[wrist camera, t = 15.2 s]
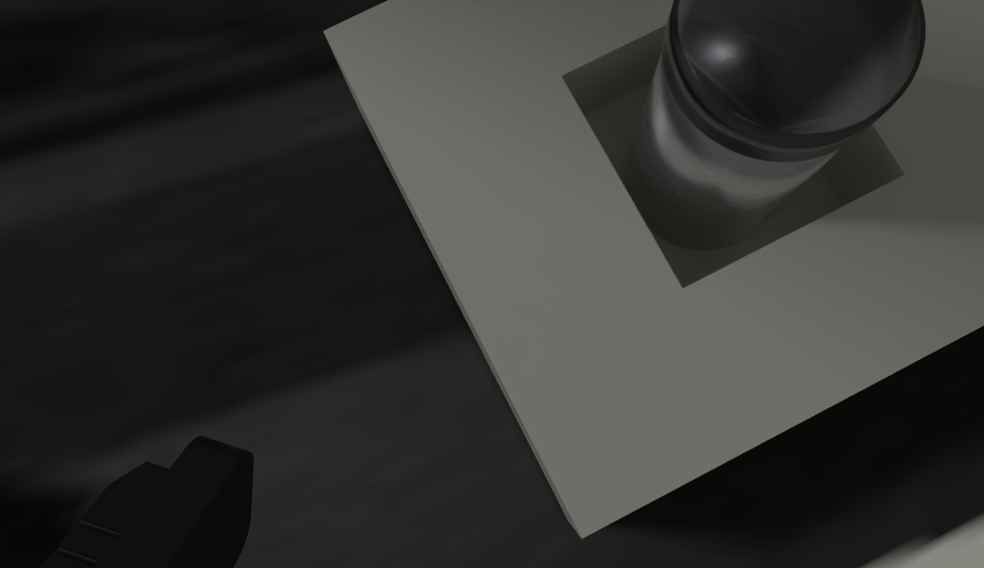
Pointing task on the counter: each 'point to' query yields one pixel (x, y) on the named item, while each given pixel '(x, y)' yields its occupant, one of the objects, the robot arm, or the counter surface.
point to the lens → (760, 106)
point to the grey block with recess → (648, 258)
